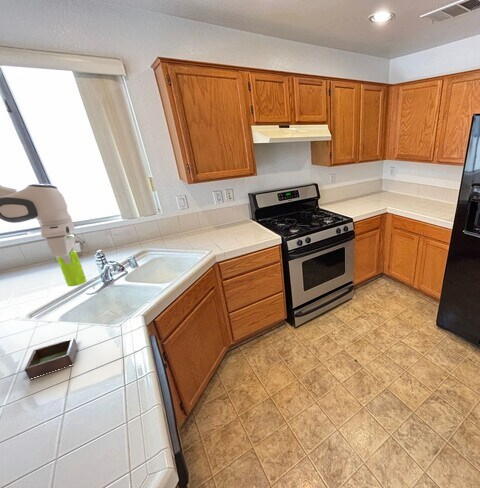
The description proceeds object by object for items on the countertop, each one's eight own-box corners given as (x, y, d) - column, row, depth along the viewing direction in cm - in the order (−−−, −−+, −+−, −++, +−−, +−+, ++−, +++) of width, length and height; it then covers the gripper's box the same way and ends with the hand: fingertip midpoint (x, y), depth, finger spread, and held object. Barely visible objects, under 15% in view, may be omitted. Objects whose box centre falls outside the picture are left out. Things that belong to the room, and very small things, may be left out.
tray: (30, 380, 85) (24, 369, 83) (38, 360, 93) (33, 349, 91) (73, 365, 90) (68, 355, 89) (78, 347, 99) (74, 337, 97)
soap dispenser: (91, 281, 108) (75, 235, 102) (68, 287, 104) (50, 240, 97) (88, 277, 112) (72, 233, 105) (66, 283, 107) (48, 237, 100)
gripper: (52, 222, 106) (64, 253, 110) (39, 235, 90) (54, 271, 95) (73, 219, 109) (83, 250, 114) (64, 231, 94) (77, 266, 98)
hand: (70, 260), depth 104 cm, fingers closed on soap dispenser, 6 cm apart
